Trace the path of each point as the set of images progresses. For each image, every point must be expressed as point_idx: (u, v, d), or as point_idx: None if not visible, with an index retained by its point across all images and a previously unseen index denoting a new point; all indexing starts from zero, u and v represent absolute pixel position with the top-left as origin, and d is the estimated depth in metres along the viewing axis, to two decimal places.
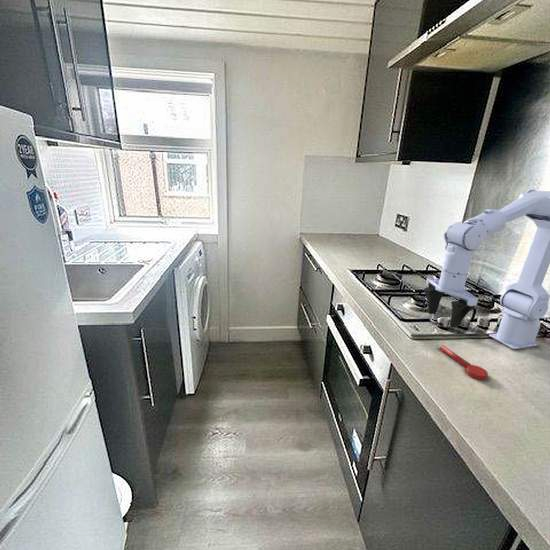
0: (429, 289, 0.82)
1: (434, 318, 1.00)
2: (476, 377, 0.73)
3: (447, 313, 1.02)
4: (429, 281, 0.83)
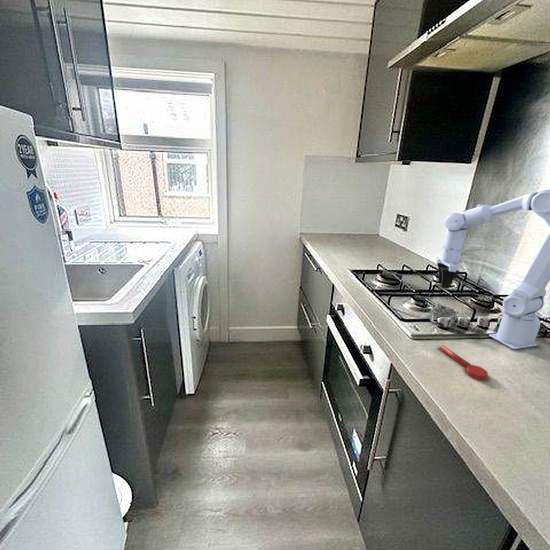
0: (440, 263, 1.10)
1: (434, 318, 1.00)
2: (476, 377, 0.73)
3: (447, 313, 1.02)
4: None
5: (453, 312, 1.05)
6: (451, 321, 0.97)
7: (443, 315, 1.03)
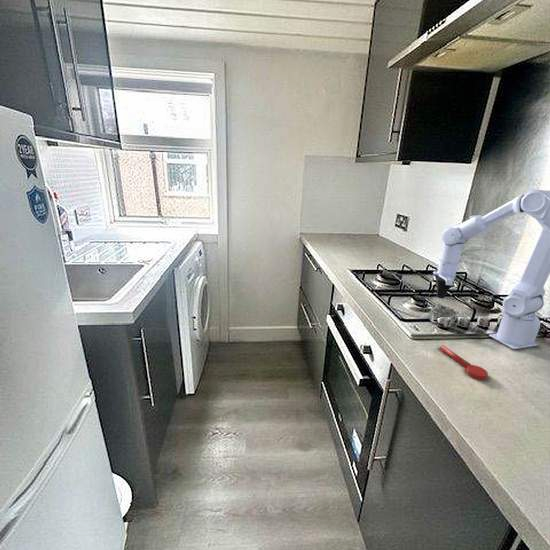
0: (438, 278, 1.09)
1: (434, 318, 1.00)
2: (476, 377, 0.73)
3: (447, 313, 1.02)
4: None
5: (453, 312, 1.05)
6: (451, 321, 0.97)
7: (443, 315, 1.03)
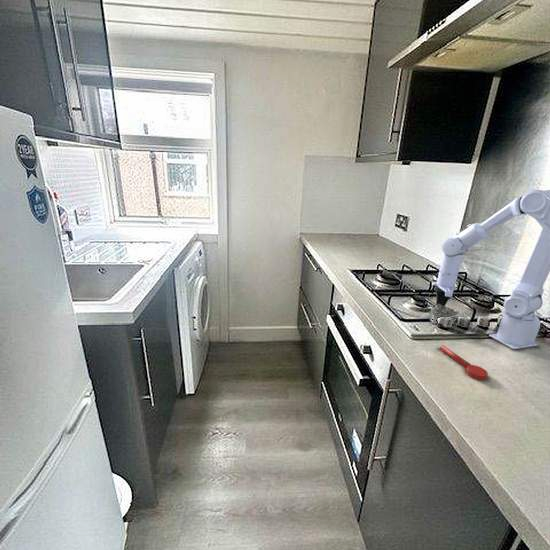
0: (438, 288, 1.08)
1: (434, 318, 0.99)
2: (476, 377, 0.73)
3: (447, 314, 1.02)
4: None
5: (453, 312, 1.05)
6: (451, 321, 0.97)
7: (443, 315, 1.03)
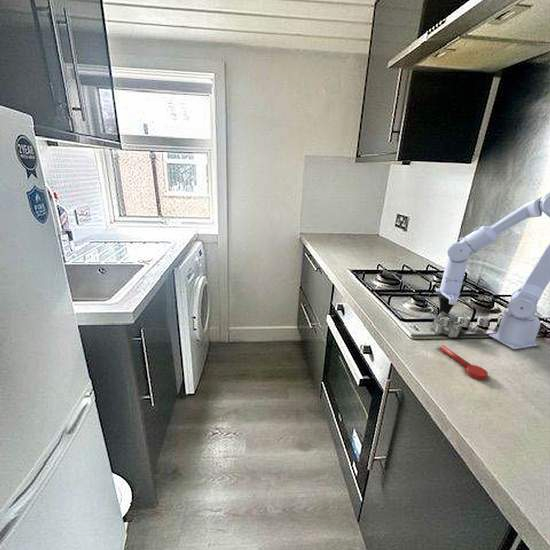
0: (441, 295, 1.01)
1: (439, 328, 0.93)
2: (476, 377, 0.73)
3: (451, 322, 0.96)
4: None
5: (457, 320, 0.99)
6: (457, 331, 0.91)
7: None
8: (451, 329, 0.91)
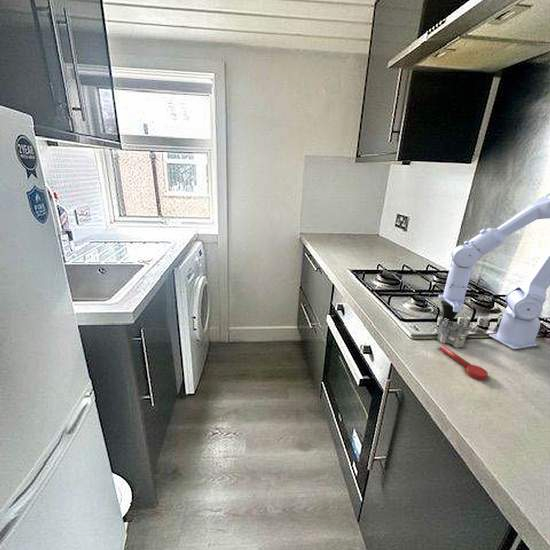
0: (444, 302, 0.96)
1: (443, 337, 0.88)
2: (476, 377, 0.73)
3: (456, 331, 0.91)
4: None
5: (462, 328, 0.93)
6: (463, 341, 0.86)
7: (452, 333, 0.91)
8: (456, 339, 0.86)
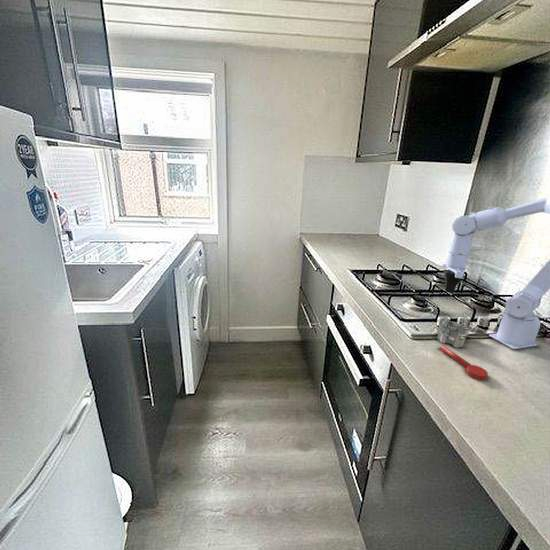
0: (446, 270, 1.02)
1: (443, 337, 0.88)
2: (476, 377, 0.73)
3: (456, 331, 0.91)
4: None
5: (462, 328, 0.93)
6: (463, 341, 0.86)
7: (452, 333, 0.91)
8: (456, 339, 0.86)
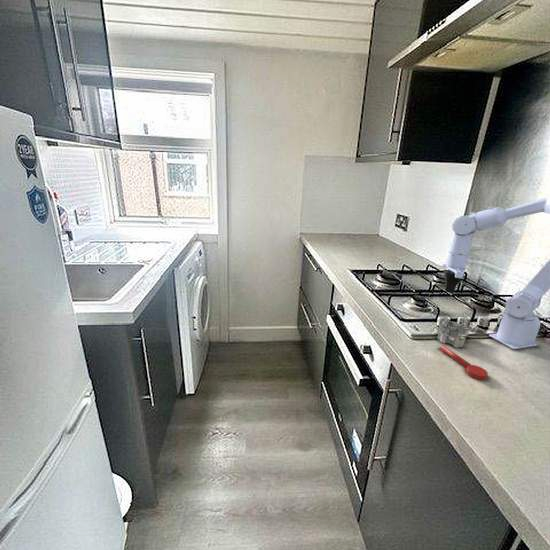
0: (446, 270, 1.02)
1: (443, 337, 0.88)
2: (476, 377, 0.73)
3: (456, 331, 0.91)
4: None
5: (462, 328, 0.93)
6: (463, 341, 0.86)
7: (452, 333, 0.91)
8: (456, 339, 0.86)
